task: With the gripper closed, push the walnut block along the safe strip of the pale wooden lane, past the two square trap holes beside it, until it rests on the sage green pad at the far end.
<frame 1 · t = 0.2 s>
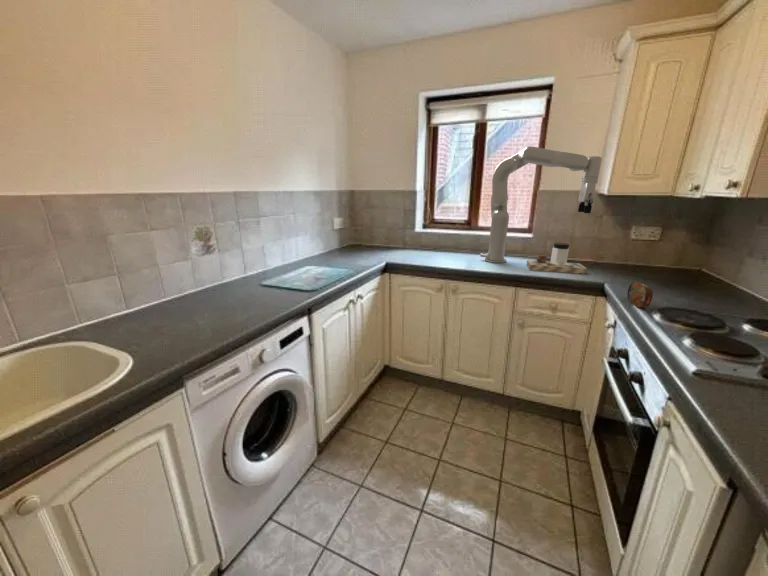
hand: (583, 212, 185), 31 cm above the worktop, tool pointing down, fingers open, 9 cm apart
block: (540, 262, 189), point 3 cm above the worktop, touching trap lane
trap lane: (554, 269, 185), on the worktop
jar: (558, 263, 201), on the worktop
tin: (637, 305, 130), on the worktop
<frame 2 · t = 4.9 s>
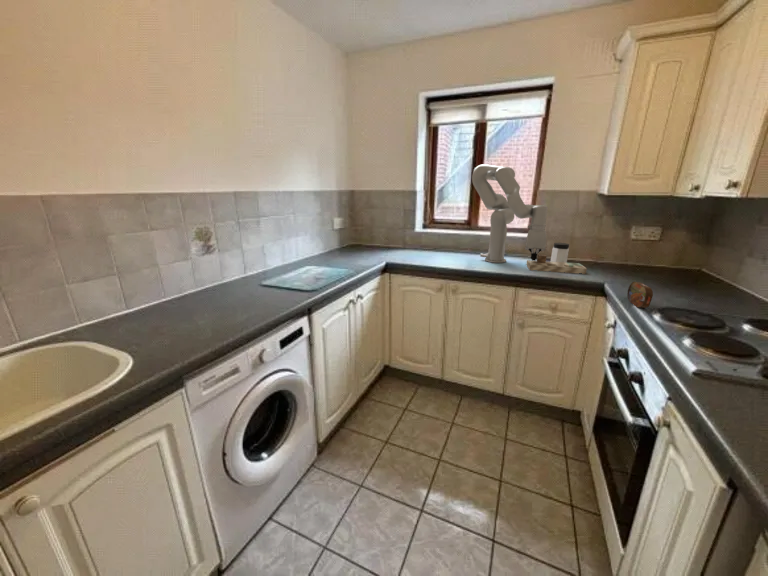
hand: (533, 260, 189), 4 cm above the worktop, tool pointing down, fingers closed
block: (540, 262, 189), point 3 cm above the worktop, touching gripper, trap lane
everything else where it was.
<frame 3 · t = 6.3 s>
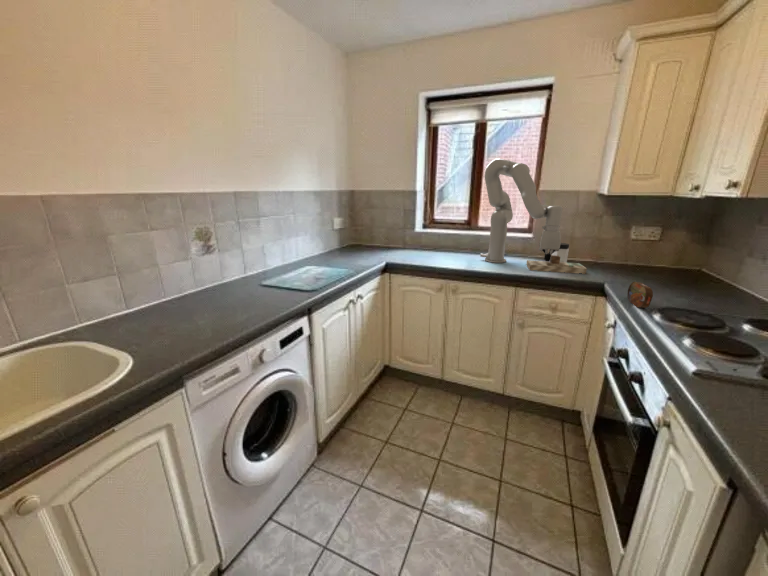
hand: (546, 260, 188), 4 cm above the worktop, tool pointing down, fingers closed
block: (554, 263, 187), point 3 cm above the worktop, touching gripper, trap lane
everything else where it was.
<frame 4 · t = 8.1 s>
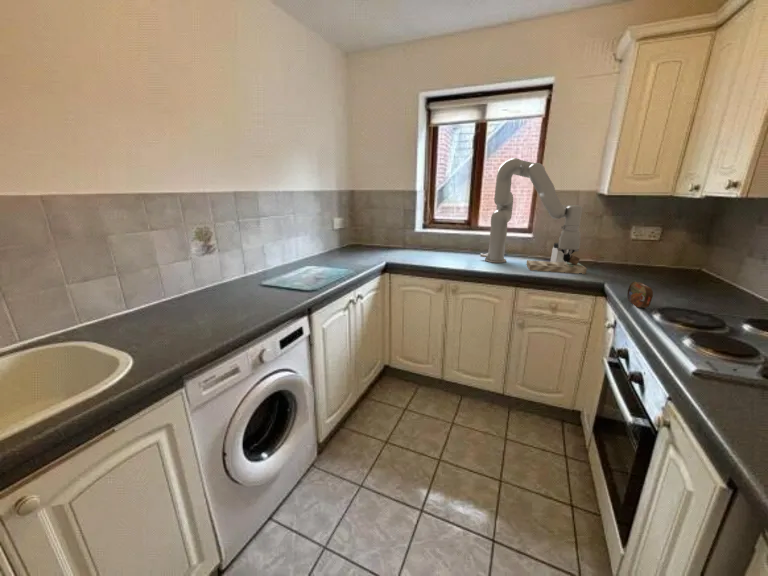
hand: (565, 261, 185), 4 cm above the worktop, tool pointing down, fingers closed
block: (571, 263, 185), point 4 cm above the worktop, tilted 17°, touching gripper
everything else where it was.
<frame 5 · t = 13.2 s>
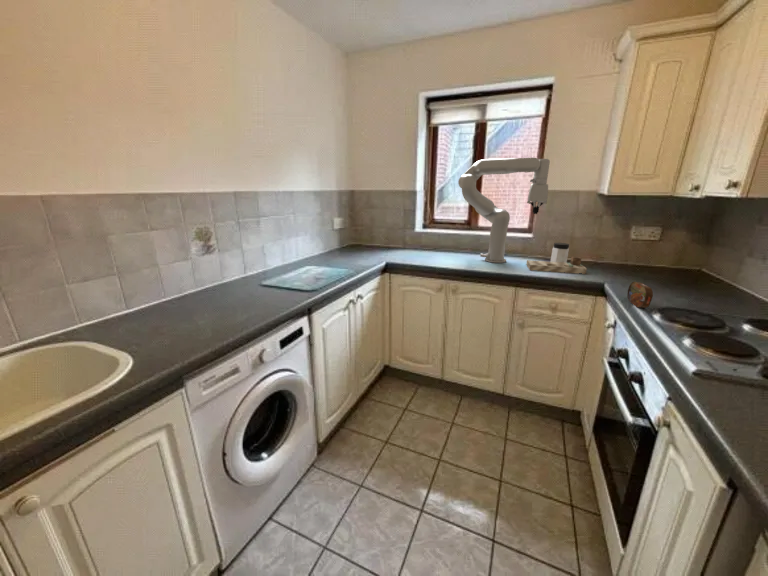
hand: (535, 213, 196), 29 cm above the worktop, tool pointing down, fingers closed
block: (575, 264, 184), point 3 cm above the worktop, touching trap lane
everything else where it was.
at the end: block 0.6 cm from the target spot, point 3.0 cm above the worktop; block tilted 0° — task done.
